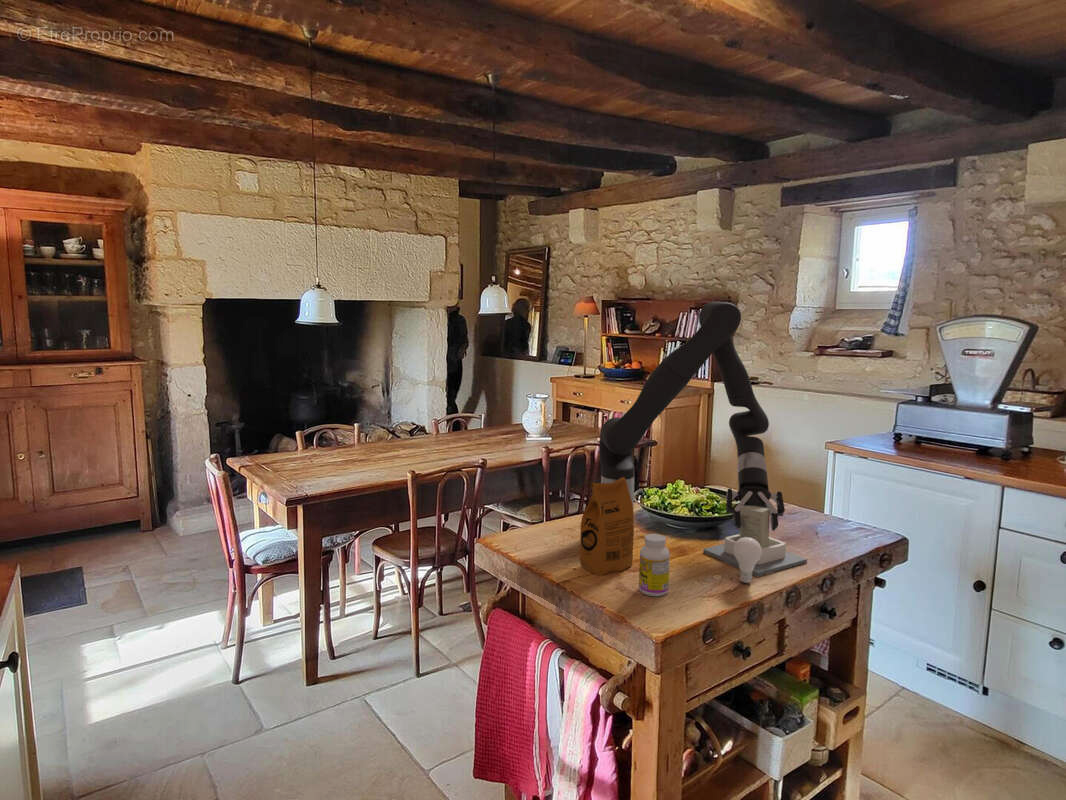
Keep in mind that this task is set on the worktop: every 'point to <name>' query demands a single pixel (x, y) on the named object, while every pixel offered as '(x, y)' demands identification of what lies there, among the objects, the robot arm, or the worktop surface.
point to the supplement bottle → (654, 566)
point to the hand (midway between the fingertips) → (756, 528)
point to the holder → (770, 558)
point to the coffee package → (607, 529)
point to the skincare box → (755, 524)
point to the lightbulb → (747, 556)
